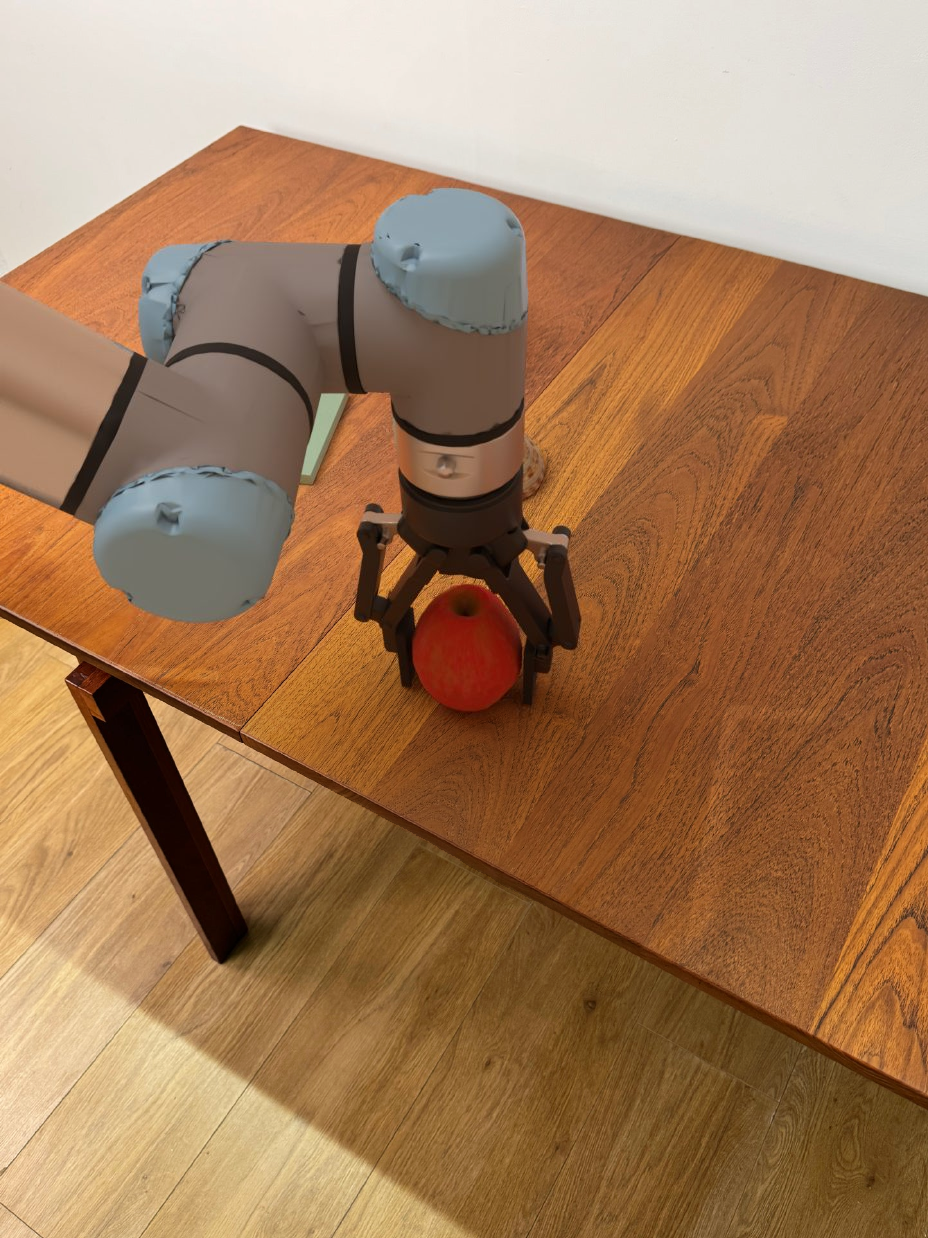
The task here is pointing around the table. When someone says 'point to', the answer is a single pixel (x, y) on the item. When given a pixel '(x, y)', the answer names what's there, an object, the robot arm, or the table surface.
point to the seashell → (531, 467)
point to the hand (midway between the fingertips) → (469, 681)
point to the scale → (322, 433)
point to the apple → (467, 648)
